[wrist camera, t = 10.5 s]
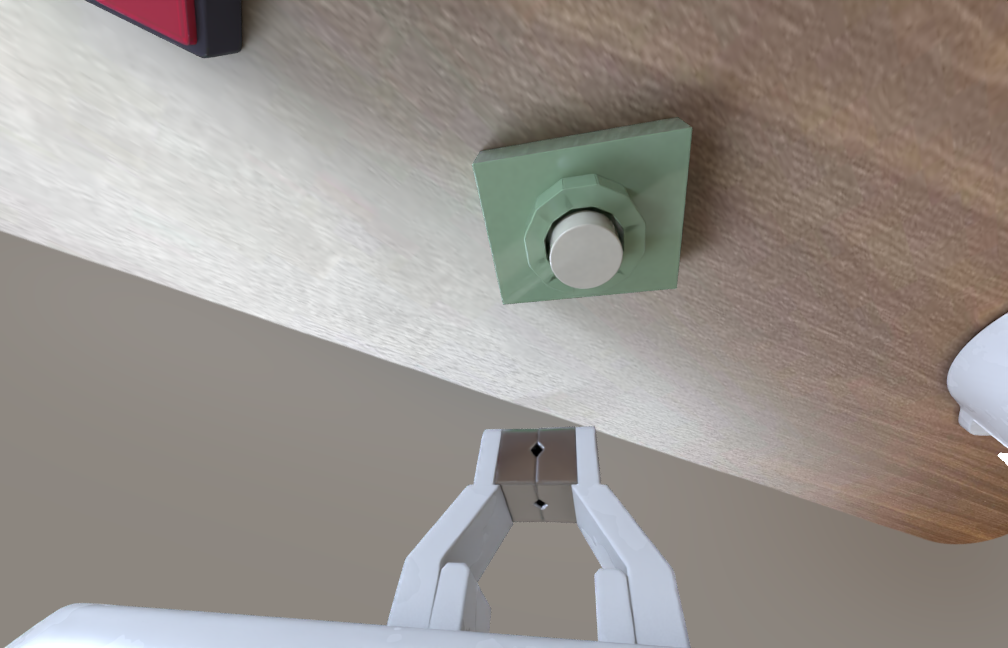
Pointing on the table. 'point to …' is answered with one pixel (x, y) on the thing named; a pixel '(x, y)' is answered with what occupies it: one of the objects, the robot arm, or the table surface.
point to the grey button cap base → (587, 205)
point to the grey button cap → (585, 249)
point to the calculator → (185, 22)
